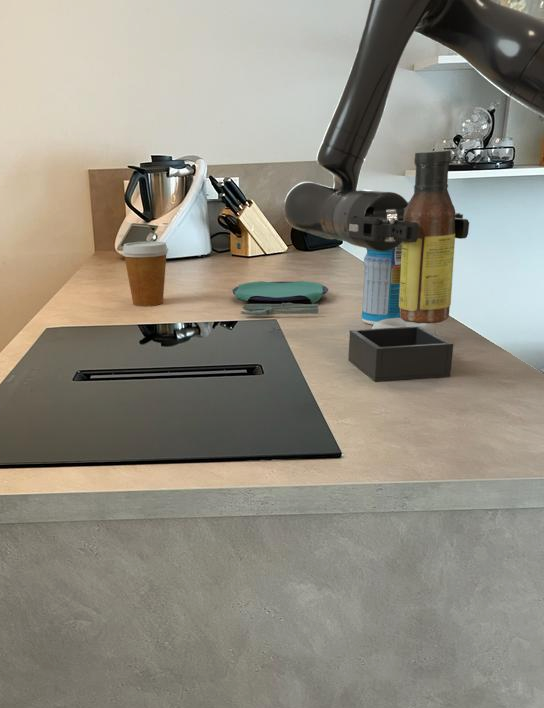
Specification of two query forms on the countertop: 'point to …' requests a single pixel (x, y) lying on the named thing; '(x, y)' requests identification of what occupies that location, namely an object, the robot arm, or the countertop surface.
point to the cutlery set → (280, 296)
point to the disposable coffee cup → (146, 271)
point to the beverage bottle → (381, 285)
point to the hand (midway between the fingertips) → (440, 231)
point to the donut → (401, 324)
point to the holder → (400, 353)
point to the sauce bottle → (428, 243)
